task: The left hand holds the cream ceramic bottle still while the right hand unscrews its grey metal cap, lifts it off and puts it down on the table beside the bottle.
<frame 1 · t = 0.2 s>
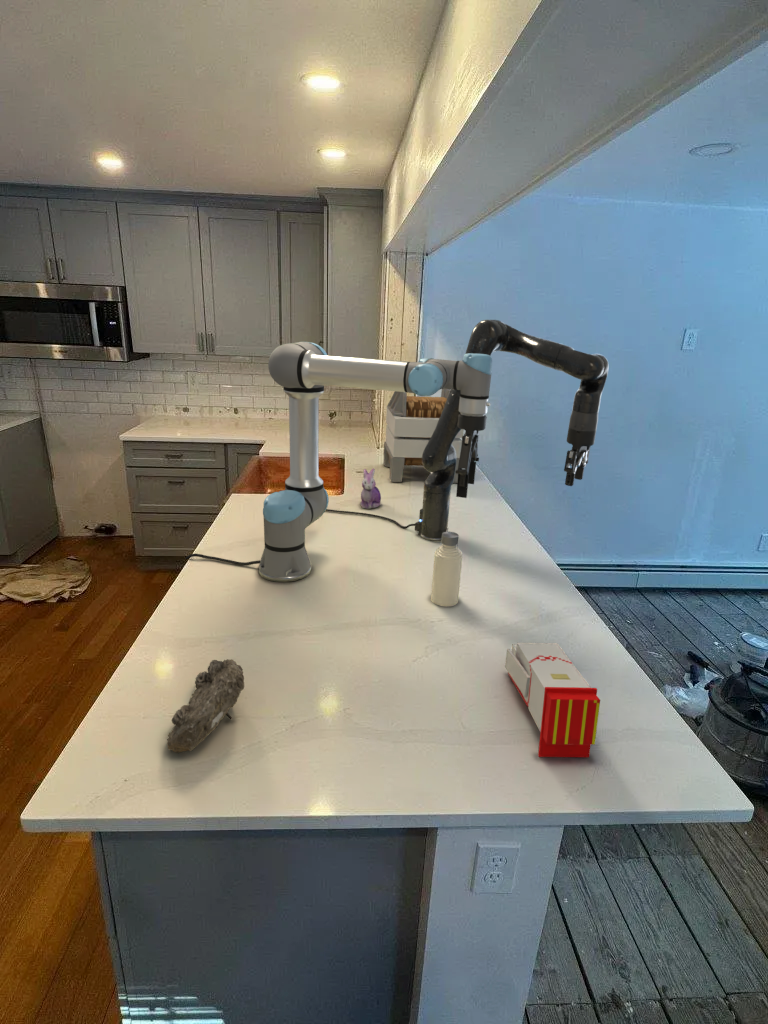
left hand: (465, 490, 158), 28 cm above the counter, tool pointing down, fingers open, 13 cm apart
right hand: (573, 482, 165), 29 cm above the counter, tool pointing down, fingers open, 8 cm apart
transformer: (419, 473, 275), on the counter
figurine: (370, 505, 227), on the counter
bottle: (444, 599, 156), on the counter
cap: (450, 535, 149), point 19 cm above the counter, screwed on, not yet turned
toy: (541, 708, 115), on the counter
fossil: (212, 717, 108), on the counter
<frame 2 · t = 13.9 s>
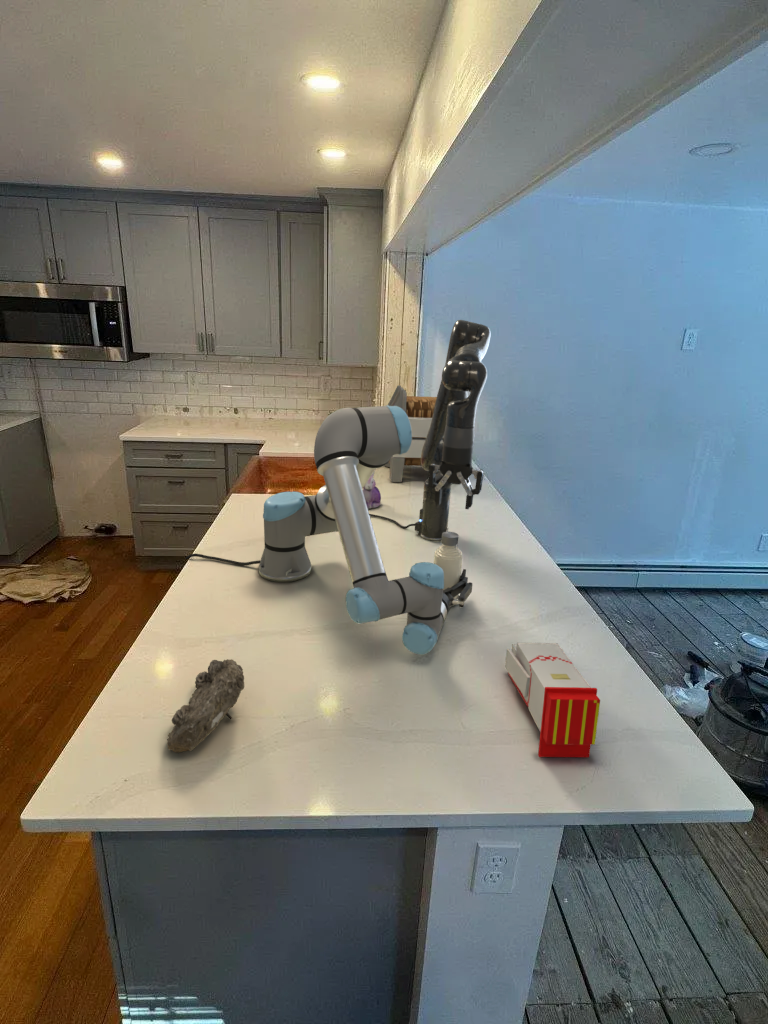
left hand: (449, 571, 158), 6 cm above the counter, tool horizontal, fingers closed on bottle, 7 cm apart
right hand: (452, 506, 147), 27 cm above the counter, tool pointing down, fingers open, 7 cm apart
bottle: (444, 599, 156), on the counter, touching left hand
everything else where it was.
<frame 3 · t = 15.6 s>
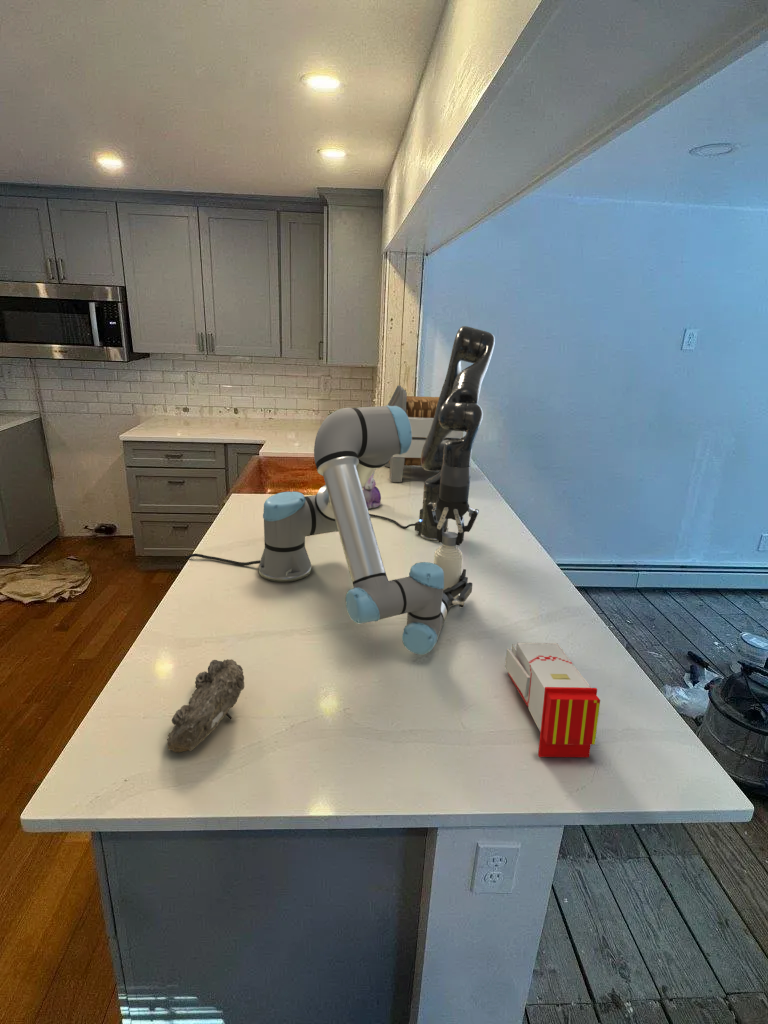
left hand: (449, 571, 158), 6 cm above the counter, tool horizontal, fingers closed on bottle, 7 cm apart
right hand: (449, 542, 150), 17 cm above the counter, tool pointing down, fingers closed on cap, 4 cm apart
bottle: (444, 599, 156), on the counter, touching left hand
cap: (450, 535, 149), point 19 cm above the counter, screwed on, not yet turned, touching right hand
everything else where it was.
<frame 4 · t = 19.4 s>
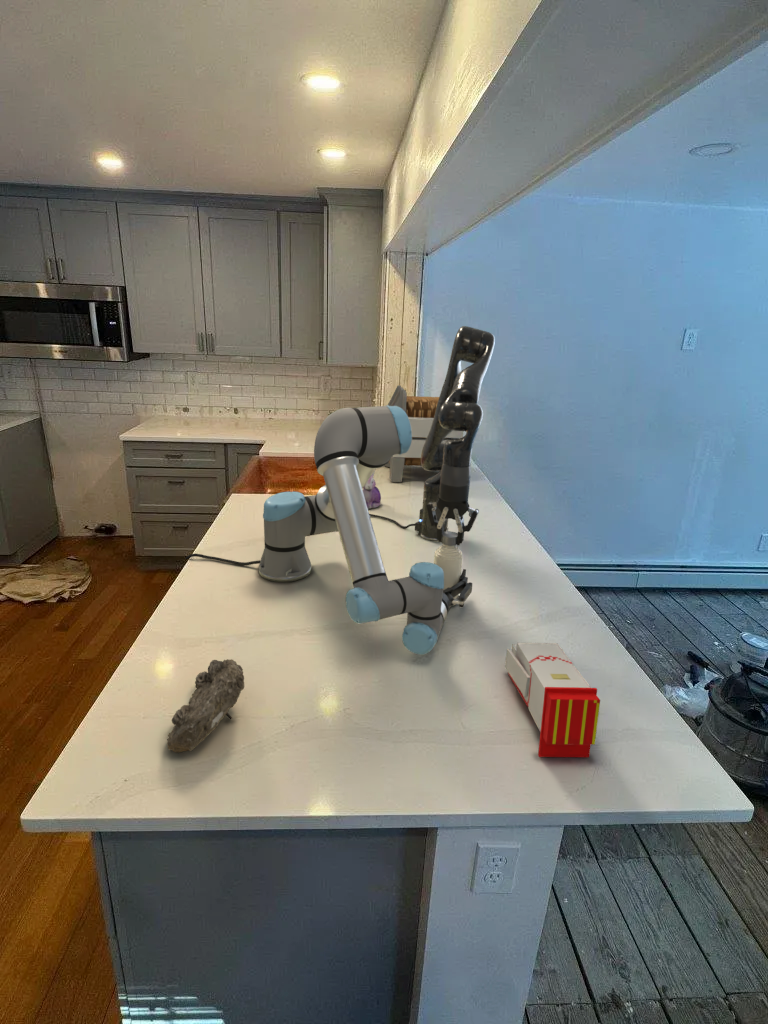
left hand: (449, 571, 158), 6 cm above the counter, tool horizontal, fingers closed on bottle, 7 cm apart
right hand: (449, 542, 150), 17 cm above the counter, tool pointing down, fingers closed on cap, 4 cm apart
bottle: (444, 599, 156), on the counter, touching left hand
cap: (450, 535, 149), point 19 cm above the counter, turned 95° so far, risen 0.1 cm, still on its thread, touching right hand
everything else where it was.
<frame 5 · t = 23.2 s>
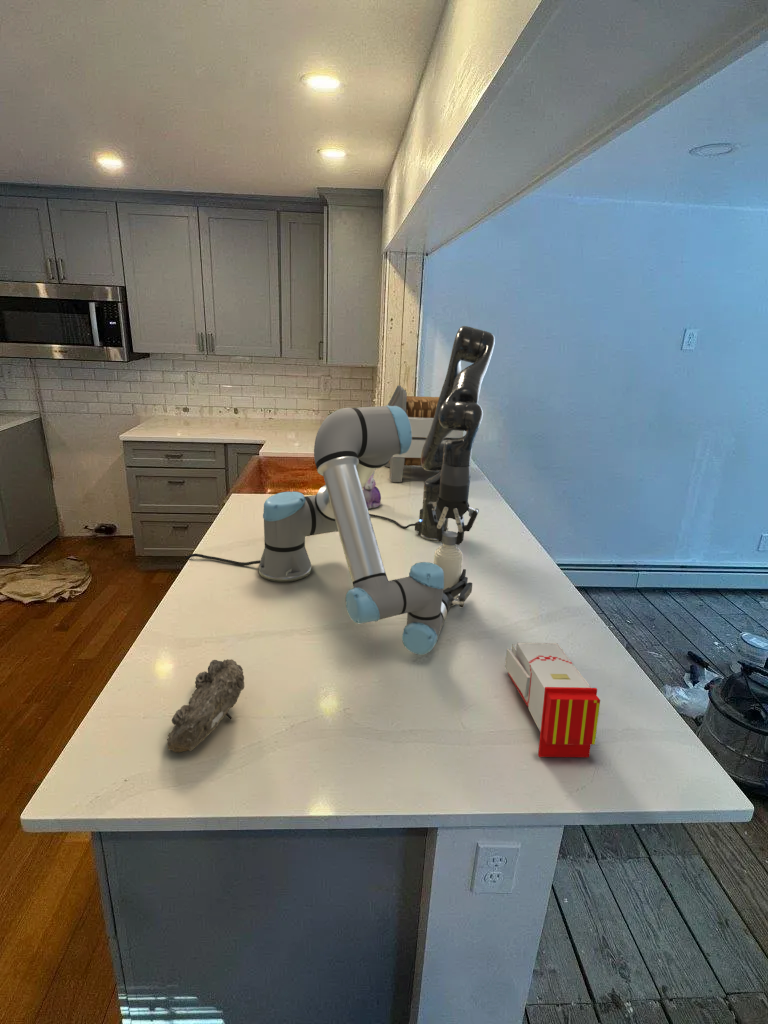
left hand: (449, 571, 158), 6 cm above the counter, tool horizontal, fingers closed on bottle, 7 cm apart
right hand: (449, 542, 150), 17 cm above the counter, tool pointing down, fingers closed on cap, 4 cm apart
bottle: (444, 599, 156), on the counter, touching left hand
cap: (450, 535, 149), point 19 cm above the counter, turned 191° so far, risen 0.2 cm, still on its thread, touching right hand
everything else where it was.
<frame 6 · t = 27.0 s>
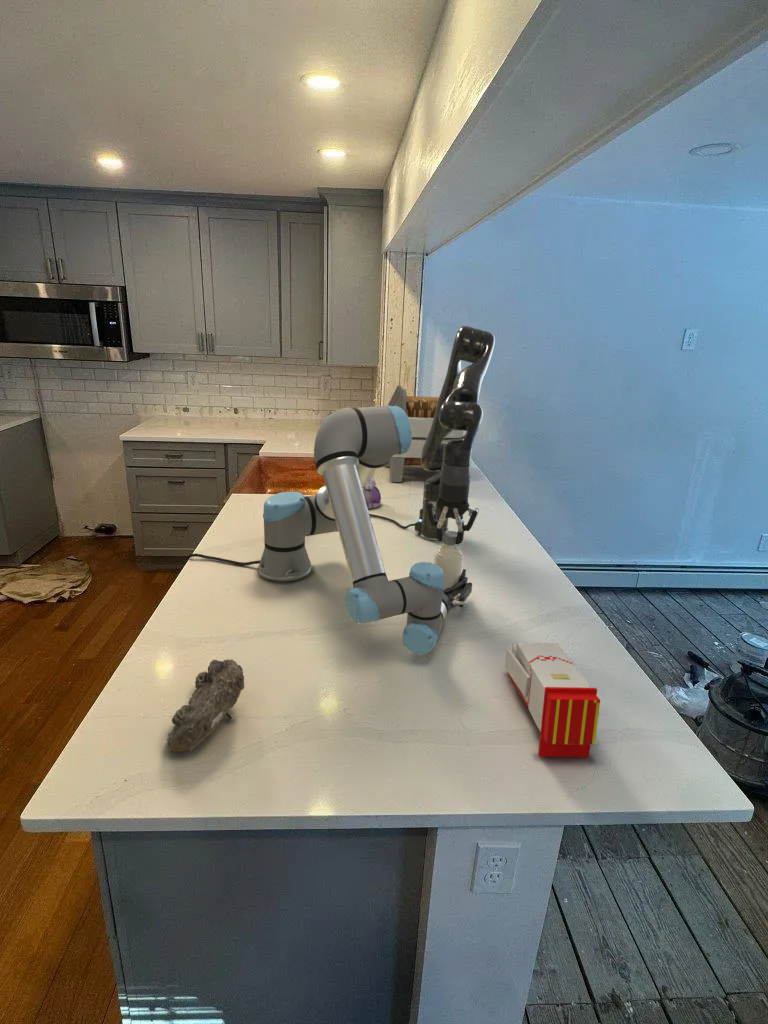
left hand: (449, 571, 158), 6 cm above the counter, tool horizontal, fingers closed on bottle, 7 cm apart
right hand: (449, 541, 150), 17 cm above the counter, tool pointing down, fingers closed on cap, 4 cm apart
bottle: (444, 599, 156), on the counter, touching left hand
cap: (450, 534, 149), point 19 cm above the counter, turned 286° so far, risen 0.3 cm, still on its thread, touching right hand
everything else where it was.
when the right hand's fingers open (1 cm above the counter, at t = 37.9 s): cap stays where it is, point 2 cm above the counter.
when the left hand's fingers open (7 cm above the counter, at t = 39.0 s): bottle stays where it is, on the counter.
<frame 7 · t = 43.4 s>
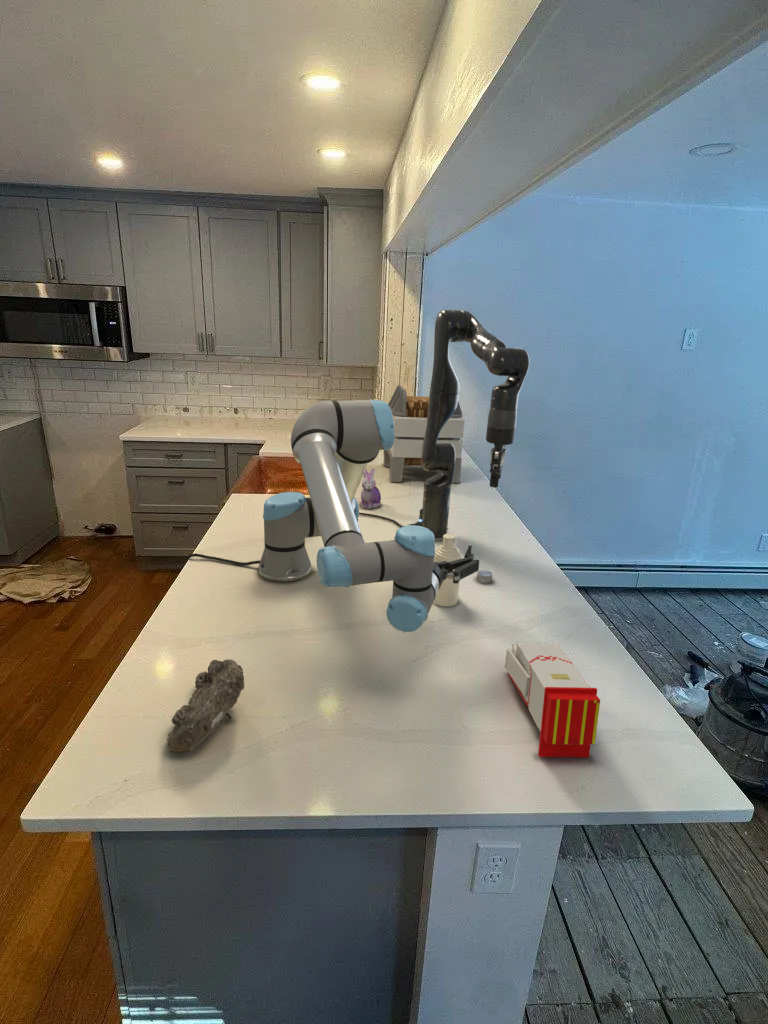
left hand: (442, 546, 139), 20 cm above the counter, tool horizontal, fingers open, 13 cm apart
right hand: (495, 482, 158), 30 cm above the counter, tool pointing down, fingers open, 8 cm apart
bottle: (443, 599, 156), on the counter
cap: (484, 574, 168), point 2 cm above the counter, off its thread
everything else where it was.
at the end: cap came off its thread; cap point 2.0 cm above the counter; the left hand is holding nothing; the right hand is holding nothing; bottle tilted 0°; bottle moved 0.2 cm from its start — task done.
